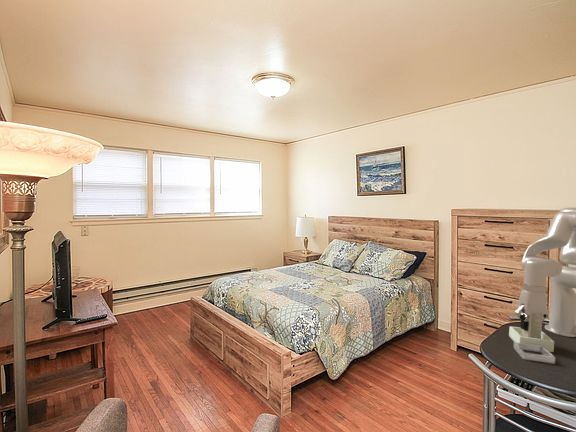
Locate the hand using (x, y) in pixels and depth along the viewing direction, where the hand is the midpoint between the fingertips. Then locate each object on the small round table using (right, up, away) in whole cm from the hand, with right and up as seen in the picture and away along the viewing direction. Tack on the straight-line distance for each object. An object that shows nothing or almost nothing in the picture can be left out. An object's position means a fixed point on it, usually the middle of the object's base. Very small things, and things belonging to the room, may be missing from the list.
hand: (531, 328), depth 138 cm
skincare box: (0, -4, 0) cm, 4 cm away
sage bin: (0, -7, 0) cm, 7 cm away
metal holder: (-7, -7, -11) cm, 15 cm away
